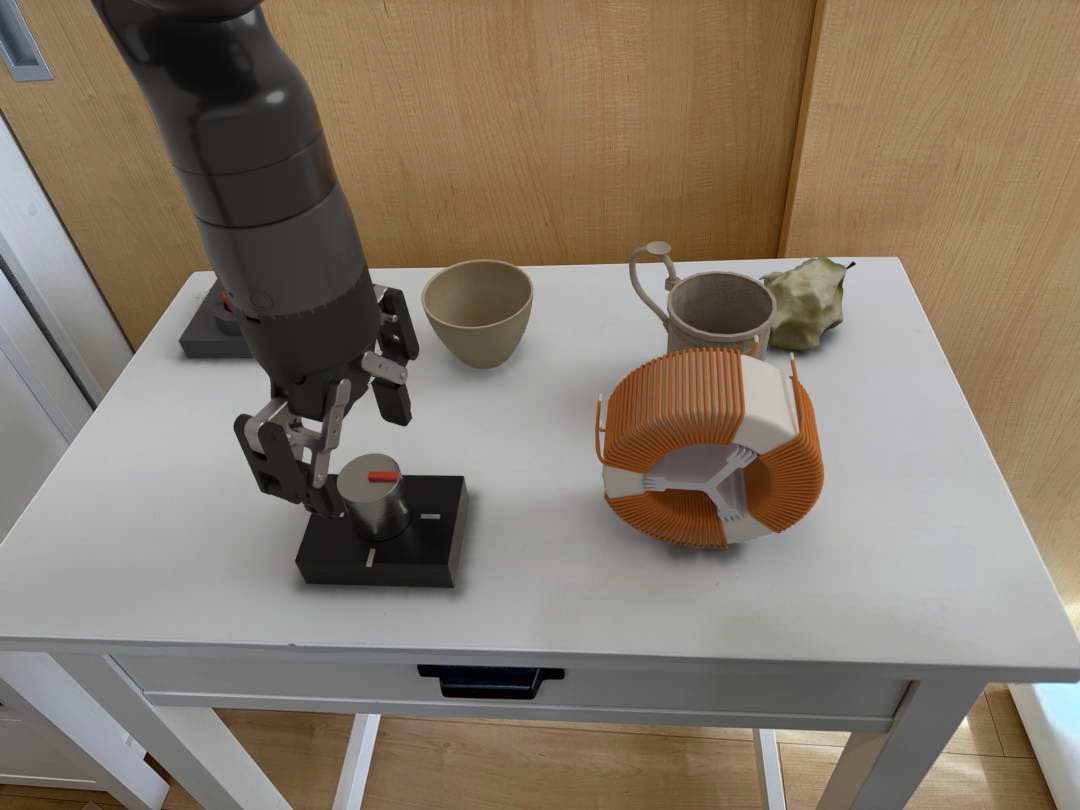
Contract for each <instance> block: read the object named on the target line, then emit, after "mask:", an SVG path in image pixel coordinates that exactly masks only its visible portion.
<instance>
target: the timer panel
mask: <svg viewBox="0 0 1080 810" xmlns="http://www.w3.org/2000/svg"><path fill="white" fill-rule="evenodd" d="M328 475H330V476H331V477H332V480H333V482H334V485H335V487H336V489H337V492H338V494H339V496H340V493H339V491H338V488H337V479H338V476H339V473H328ZM402 477H403V481H404V484H405V487H406V490H407V494H408V497H409V500H410V503H411V507H412V517H411V520H410V522H409V524H408V525H407V527H406V528H405V529H404V530H403V531H402V532H401V533H399V534H398V535H396V536H394V537H392V538H390V539H387V540H382V541H371V540H367V539H364V538H362V537H361V536H359V535H358V534H357V533H356V531H355V530H354V528H353V525H352V523H351V520H350V518H349V516H348V513H347V511H346V508H345V506H344V503H343V501H342V498H341V496H340V499H341V501H342V504H343V506H344V511H343V512H342V514H341V515H340V516H339V518H337V519H335V518H332V517H329V518H328V519H327V518H324V517H321V516H318V515H316V514H313V513H310V516H309V518H308V522H307V525H306V526H305V530H304V533H303V536H302V538H301V541H300V544H299V546H298V550H297V553H296V556H295V558H294V563H295V565H296V567H297V569H298V571H299V573H300V574H301V576H302V578H303V580H304V582H305V584H306V585H332V586H333V585H334V586H360V587H361V586H363V587H365V586H367V587H368V586H369V587H402V588H405V587H407V588H436V589H455V584H456V579H457V572H458V568H459V561H460V556H461V549H462V544H463V537H464V532H465V527H466V520H467V514H468V510H469V503H470V497H469V493H468V488H467V483H466V478H465V475H446V474H445V475H442V474H441V475H440V474H439V475H438V474H437V475H436V474H433V475H432V474H402Z"/></svg>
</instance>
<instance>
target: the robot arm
mask: <svg viewBox="0 0 1080 810" xmlns="http://www.w3.org/2000/svg"><path fill="white" fill-rule="evenodd" d="M265 1H266V0H89V2H90V3H91V5H92V7H93V9H94V11H95V12H96V14H97V16H98V17H99V20H100V22H101V23H102V25H103V27H104V29H105V30H106V32H107V34H108V36H109V38H110V40H111V41H112V43H113V44H114V46H115V48H116V50H117V51H118V54H119V55H120V57H121V59H122V60H123V62H124V64H125V65H126V67H127V69H128V70H129V72H130V75H132V77H133V78H134V80H135V82H136V83H137V85H138V88H139V89H140V91H141V93H142V95H143V97H144V99H145V101H146V104H147V106H148V108H149V110H150V112H151V115H152V117H153V120H154V122H155V125H156V128H157V130H158V134H159V136H160V139H161V143H162V145H163V147H164V149H165V152H166V154H167V157H168V160H169V161H170V163H171V166H172V168H173V170H174V172H175V175H176V177H177V179H178V181H179V184H180V186H181V188H182V190H183V193H184V195H185V197H186V198H187V202H188V204H189V206H190V208H191V210H192V213H193V216H194V218H195V221H196V223H197V227H198V230H199V231H198V232H199V234H200V238H201V243H202V245H203V249H204V251H205V254H206V256H207V259H208V261H209V264H210V266H211V268H212V270H213V272H214V274H215V277H216V280H217V279H218V281H219V283H220V286H221V288H222V290H223V292H224V294H225V297H226V299H227V301H228V303H229V306H230V308H231V310H232V312H233V314H234V317H235V319H236V321H237V323H238V325H239V327H240V330H241V332H242V334H243V336H244V338H245V341H246V343H247V345H248V347H249V349H250V352H251V354H252V355H253V357H252V358H254V360H255V361H256V362H257V364H258V365H259V366H260V367H261V368H262V370H263V371H264V372H265V374H266V375H267V376H268V378H269V384H270V391H269V392H270V401H269V402H268V403H267V404H266V405H264V407H263V408H262V409H261V410H259V412H258V413H257V414H256V415H251V414H248V413H241V414H239V415H237V417H236V418H235V420H234V422H233V432H234V434H235V437H236V439H237V441H238V443H239V446H240V448H241V450H242V452H243V455H244V457H245V459H246V461H247V464H248V466H249V468H250V471H251V473H252V475H253V477H254V480H255V483H256V484H257V486H258V488H259V491H260V492H261V493H262V494H265V495H267V496H273V497H276V498H279V499H282V500H284V501H287V502H288V503H291V504H293V505H296V506H298V505H300V504H301V503H302V505H303V508H304V510H305V511H306V512H308V513H310V514H311V513H313V514H316V515H318V516H321V517H324V518H327V519H328V518H329V517H332V518H335V519H337V518H339V516H340V515H341V514H342V512H343V511H344V506H343V504H342V501H341V499H340V496H339V494H338V492H337V489H336V487H335V485H334V482H333V480H332V477H331V476H330V475H328V474H329V466H330V460H331V453H332V452H333V451H334V450H337V449H338V447H339V445H340V441H341V434H342V427H343V421H344V419H345V418H346V417H347V416H348V415H349V413H350V411H351V410H352V407H353V406H354V404H355V403H356V402H357V401H358V400H360V399H361V398H362V397H363V396H364V395H365V394H366V393H367V392H368V390H369V389H370V387H369V383H370V386H371V389H372V391H373V395H374V398H375V402H376V404H377V408H378V410H379V414H380V417H381V418H382V420H384V421H385V422H387V423H390V424H394V425H397V426H400V427H408V425H409V424H410V423H411V421H412V420H413V415H412V411H411V410H412V401H411V399H410V394H409V391H408V387H407V383H406V382H407V380H408V377H409V370H408V368H407V365H408V363H409V361H413V362H414V361H416V360H417V359H418V357H419V355H420V350H421V349H420V344H419V341H418V338H417V334H416V330H415V328H414V324H413V320H412V317H411V314H410V311H409V308H408V304H407V300H406V298H405V294H404V291H403V290H402V289H400V288H395V287H390V286H386V285H381V284H377V283H373V280H372V276H371V274H370V269H369V266H368V262H367V259H366V255H365V251H364V248H363V245H362V241H361V238H360V234H359V231H358V227H357V223H356V220H355V217H354V214H353V212H352V208H351V206H350V203H349V201H348V198H347V197H346V194H345V192H344V190H343V187H342V185H341V183H340V179H339V178H338V174H337V172H336V169H335V166H334V162H333V158H332V155H331V151H330V148H329V145H328V141H327V137H326V134H325V130H324V128H323V124H322V118H321V115H320V113H319V110H318V109H319V108H318V107H317V103H316V101H315V97H314V95H313V93H312V90H311V88H310V86H309V84H308V82H307V80H306V78H305V75H303V73H302V71H301V70H300V69H299V67H298V66H297V65H296V63H295V62H294V61H293V60H292V59H291V58H290V56H289V55H288V54H287V53H286V52H285V51H284V49H283V48H282V47H281V46H280V44H279V43H278V41H277V39H276V38H275V36H274V34H273V32H272V31H271V29H270V27H269V24H268V21H267V19H266V16H265V14H264V11H263V8H262V6H261V5H262V4H263V3H264V2H265ZM396 337H397V338H396ZM377 344H378V347H379V350H380V352H381V354H379V353H377V352H376V345H377ZM371 378H373V380H372V381H371ZM302 419H307V420H311V421H315V422H318V423H321V432H320V431H316V430H313V429H309V428H306V427H305V426H304V424H303V421H302ZM305 448H306V449H309V450H310V452H311V453H310V454H311V457H310V463H309V462H306V461H303V458H304V452H305V451H304V450H305Z"/></svg>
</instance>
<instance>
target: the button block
mask: <svg viewBox="0 0 1080 810" xmlns="http://www.w3.org/2000/svg"><path fill="white" fill-rule="evenodd" d="M178 343H179V345H180V346H181V349H182V350H183V352H184V354H185V356H186V358H254V357H253V355H252V354H251V352H250V349H249V347H248V345H247V343H246V341H245V338H244V336H243V334H242V332H241V330H240V327H239V325H238V323H237V321H236V319H235V317H234V314H233V313H232V312H231V311H229V309H228V307H227V305H226V303H225V301H224V298H223V296H222V288H221V286H220V283H219V281H218V279H217V278H216V280H214V283H213V284H212V286H211V287H210V289H209V290H208V292H207V294H206V296H205V297H204V299H203V300H202V302H201V303H200V305H199V307H198V309H197V310H196V312H195V313H194V315H193V316H192V318H191V320H190V321H189V323H188V324H187V326H186V327H185V329H184V331H183V332H182V334H181V336H180V337H179V339H178Z"/></svg>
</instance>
